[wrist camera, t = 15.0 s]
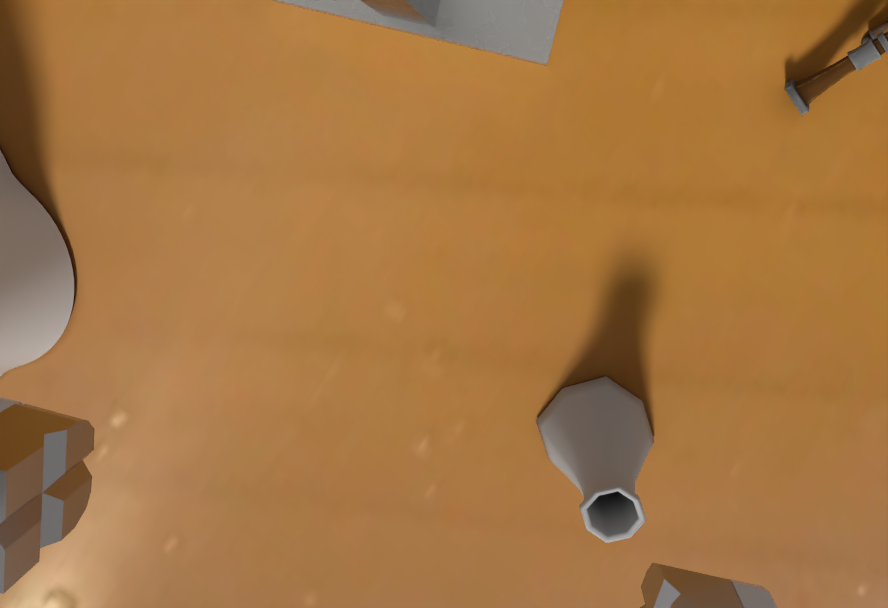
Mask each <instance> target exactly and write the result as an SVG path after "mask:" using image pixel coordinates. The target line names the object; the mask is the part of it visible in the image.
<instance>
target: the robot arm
mask: <svg viewBox="0 0 888 608" xmlns="http://www.w3.org/2000/svg"><path fill="white" fill-rule="evenodd" d="M73 300H74V276H73V269H72V264H71V260H70V256H69V253H68V250H67V247H66V244H65V242H64V240H63V238H62V235H61V233H60V231H59V230H58V228H57V226H56V224H55V223H54V221H53V220H52V218H51V217H50V215H49V214H48V212H47V211H46V210H45V209H44V207H43V206H42V205H41V204H40V203H39V202H38V200H37V199H36V198H35V197H34V196H33V195H32V194H31V193H30V192H29V191H28V190H27V189H26V188H25V187H24V186H23V185H22V184H21V183H20V182H19V181H18V180H17V179H16V178H15V176H14V175H13V174H12V172H11V170H10V168H9V166H8V164H7V162H6V160H5V158H4V156H3V154H2V152H1V150H0V377H1V376H2V374H3V373H5V372H7V371H8V370H11V369H13V368H16V367H19V366H21V365H24V364H27V363H29V362H32V361H34V360H35V359H37V358H39V357H40V356H42V355H43V354H45V353H46V352H47V351H48V350H49V349H50V348H51V347H52V346H53V345H54V344H55V343H56V342H57V341H58V339H59V338H60V336H61V335H62V333H63V332H64V330H65V328H66V326H67V323H68V321H69V318H70V315H71V311H72V307H73ZM93 450H94V428H93V427H92V425H91V424H90V423H89V421H87V420H83V419H80V418H76V417H72V416H68V415H65V414H61V413H57V412H54V411H50V410H46V409H43V408H39V407H35V406H32V405H28V404H22V403H21V402H18V401H13V400H9V399H5V398H0V593H3V594H4V593H5V592H6V591H7V590H8V589H9V588H10V587H11V586H13V585H14V584H15V583H16V582H17V581H18V580H19V579H20V578H21V577H22V576H23V575H25V574H26V573H27V572H28V571H29V570H30V569H31V568H32V567H33V566H34V565H35V564H36V563H38V562H39V555H40V548H41V547H44V546H47V545H50V544H53V543H56V542H58V541H61V540H62V539H63V538H64V537H65V536H66V535H67V534H69V533H70V532H71V531H72V530H73V529H74V528H75V526H76V525H77V523H78V521H79V519H80V518H81V516H82V514H83V513H84V511H85V509H86V507H87V503H88V500H89V496H90V493H91V483H92V476H91V474H90V472H89V471H88V469H87V467H86V465H85V463H84V462H83V460H84V459H85V458H86V457H87V456H88V455H89V454H90V453H91V452H92V451H93ZM641 589H642V593H643V597H644V601H645V605H643V606H642V607H640V608H777V606H776V604H775V602H774V600H773V598H772V596H771V594H770V592H769V591H767V590H766V589H765V588H764V587H762V586H759V585H754V584H749V583H744V582H740V581H735V580H730V579H724V578H719V577H715V576H710V575H706V574H702V573H697V572H693V571H688V570H684V569H679V568H675V567H670V566H666V565H661V564H657V563H652V564H651V566H650V567H649V569H648V570H647V572H646V574H645V577H644V580H643V583H642V585H641Z"/></svg>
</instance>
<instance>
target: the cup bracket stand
mask: <svg viewBox="0 0 888 608" xmlns="http://www.w3.org/2000/svg"><path fill="white" fill-rule="evenodd" d="M273 1H276V2H278V3H282V4H286V5H291V6H295V7H299V8H303V9H308V10H312V11H316V12H320V13H324V14H329V15H333V16H337V17H341V18H345V19H350V20H354V21H358V22H362V23H367V24H371V25H375V26H379V27H383V28H388V29H392V30H396V31H400V32H405V33H409V34H413V35H417V36H421V37H426V38H430V39H434V40H438V41H443V42H447V43H451V44H455V45H459V46H464V47H468V48H472V49H476V50H480V51H485V52H489V53H493V54H497V55H502V56H506V57H510V58H514V59H518V60H523V61H527V62H531V63H535V64H540V65H544V66H546V65H547V62H548V58H549V54H550V50H551V47H552V43H553V39H554V35H555V31H556V27H557V23H558V20H559V16H560V12H561V8H562V4H563V0H273Z"/></svg>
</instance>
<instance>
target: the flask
mask: <svg viewBox="0 0 888 608" xmlns="http://www.w3.org/2000/svg"><path fill="white" fill-rule="evenodd" d="M536 422H537V425H538V428H539V431H540V434H541V437H542V440H543V443H544V446H545V449H546V452H547V455H548V458H549V459H550V460H551V461H552V463H553V464H555V465H556V466H557V467H558V468H559V469H560V470H561V471H562V472H563V473H564V474H565V475H566V476H567V477H568V478H569V479H570V480H571V481H572V482H573V483H574V484H575V485H576V486H577V487H578V489H579V490H580V491H581V493H582V495H583V497H584V501H583V502H582V503H581V504H580V510H581V513H582V516H583V519H584V522H585V525H586V528H587V530H588V531H590V532H591V533H593V534H594V535H596V536H597V537H599V538H600V539H602V540H603V541H605V542H606V543H608V542H613V541H617V540H622V539H626V538H631V536H632V535H633V534H634V533H635V532H636V531H637V530H638V529H639V528H640V527H641V526H642V525H643V523H644V522H645V521H646V518H645V515H644V512H643V508H642V505H641V502H640V499H639V497H638V495H636V494H635V482H636V479H637V477H638V474H639V472H640V470H641V467H642V465H643V462H644V460H645V458H646V456H647V455H648V453H649V451H650V449H651V447H652V445H653V442H654V438H653V435H652V431H651V428H650V425H649V421H648V418H647V414H646V411H645V408H644V404H643V401H641V400H640V399H639V398H637V397H636V396H634V395H633V394H631V393H630V392H628V391H627V390H625V389H624V388H622V387H621V386H620V385H618V384H617V383H615V382H614V381H612V380H611V379H609V378H608V377H606V376H605V377H602V378H598V379H594V380H591V381H587V382H583V383H580V384H576V385H572V386H569V387H565V388H562V389H561V391H560V392H559V393H558V394H557V396H556V397H555V398H554V399H553V400H552V402H551V403H550V404H549V405H548V407H547V408H546V409H545V410H544V412H543V413H542V414H541V415H540V417H539V418H538V419H537V420H536Z"/></svg>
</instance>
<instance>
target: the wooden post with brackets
mask: <svg viewBox="0 0 888 608" xmlns="http://www.w3.org/2000/svg"><path fill="white" fill-rule="evenodd" d="M887 18H888V17H887ZM868 32H869V34H870V36H869V37H866V38H864V39H863V40H862V43H861V46H859V47H857V48H856V49H854V50H852V51H850V52H847V53H848V56H846V57H844V58H843V59H841V60H840V61H838V62H836V63H835V64H833V65H831V66H829V67H827V68H825V69H823V70H821V71H819V72H817V73H816V74H814V75H812V76H810V77H808V78H806V79H803V80H801V81H799V82H796V83H795V81H794V80H793V78H792V79H791V80H789V81H787V82H785V91H786V92H787V94H788V95H789V97H790V98H791V100H792V101H793V103H794V104H795V106H796V107H797V109H798V110H799V112H800V113H801V115H802V116H803V115H804V114H805V113H806V112H809V103H811V102H812V101H813V100H814V99H815V98H816V97H817V96H819V95H820V94H821V93H823V92H824V91H825V90H827V89H828V88H830V87H831V86H832V85H834V84H835V83H836V82H838V81H839V80H840V79H842V78H843V77H845V76H846V75H848V74H849V73H851V72H853V71H854V70H856V69H857V71H859V70H860V69H862V68H863V67H865V66H866V65H868V64H870V63H872V62H873V61H875V60H877V59H880V58H882V57H881V55H882V54H883V53H885V52H886V53H887V54H888V21H887V22H886V23H884V24H882V25H880V26H879V27H877V28H875V29H873V30H871V31H868Z"/></svg>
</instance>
